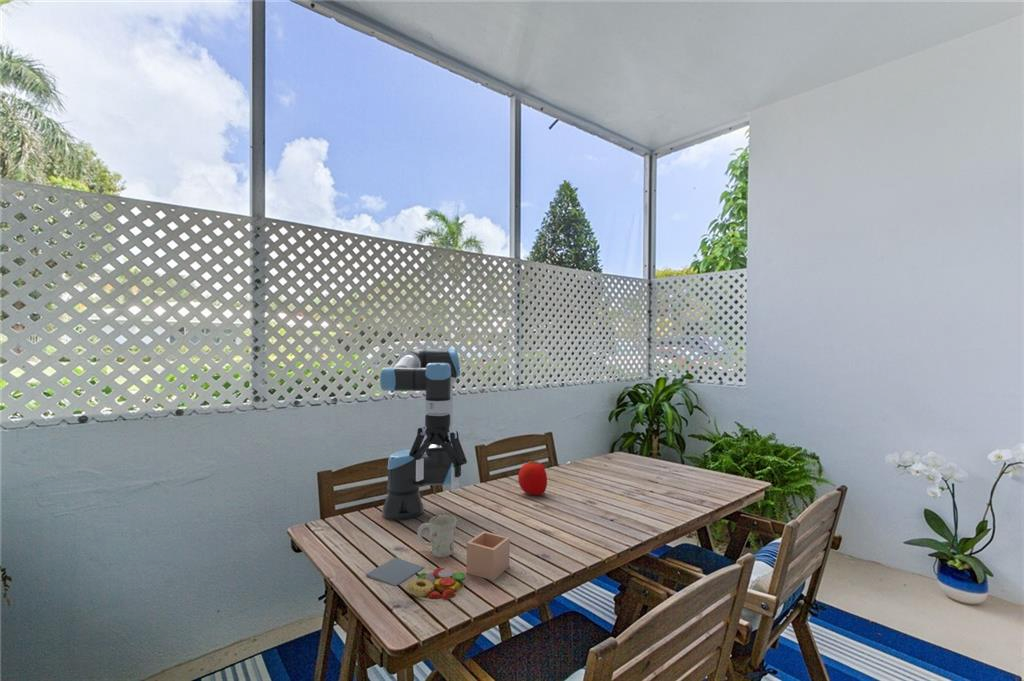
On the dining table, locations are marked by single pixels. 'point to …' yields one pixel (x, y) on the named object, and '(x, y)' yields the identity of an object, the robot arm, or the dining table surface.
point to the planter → (488, 555)
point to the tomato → (533, 478)
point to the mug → (440, 534)
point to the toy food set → (437, 585)
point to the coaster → (395, 571)
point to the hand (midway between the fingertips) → (436, 483)
